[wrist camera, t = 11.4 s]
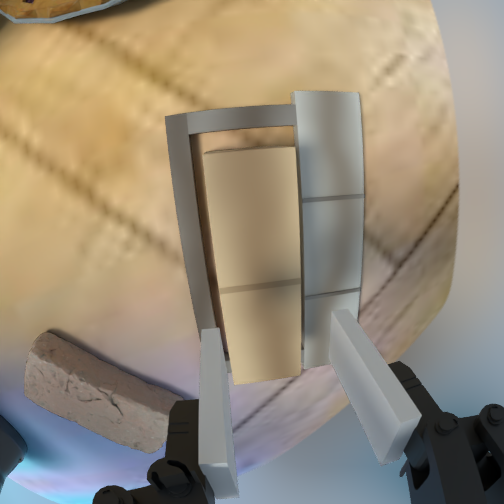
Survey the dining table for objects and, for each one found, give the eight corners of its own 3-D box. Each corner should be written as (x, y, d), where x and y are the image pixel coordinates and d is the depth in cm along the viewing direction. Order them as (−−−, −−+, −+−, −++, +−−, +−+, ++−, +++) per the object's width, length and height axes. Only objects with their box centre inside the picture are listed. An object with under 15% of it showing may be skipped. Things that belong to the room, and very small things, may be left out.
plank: (229, 338, 27) (234, 385, 21) (205, 151, 21) (201, 154, 15) (284, 331, 27) (300, 375, 21) (275, 145, 21) (295, 146, 16)
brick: (187, 394, 29) (185, 428, 25) (158, 431, 31) (155, 461, 27) (45, 322, 25) (25, 349, 20) (35, 370, 27) (20, 396, 22)
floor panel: (209, 373, 28) (210, 383, 27) (166, 104, 19) (163, 102, 18) (348, 351, 29) (352, 360, 28) (352, 94, 20) (359, 92, 19)
